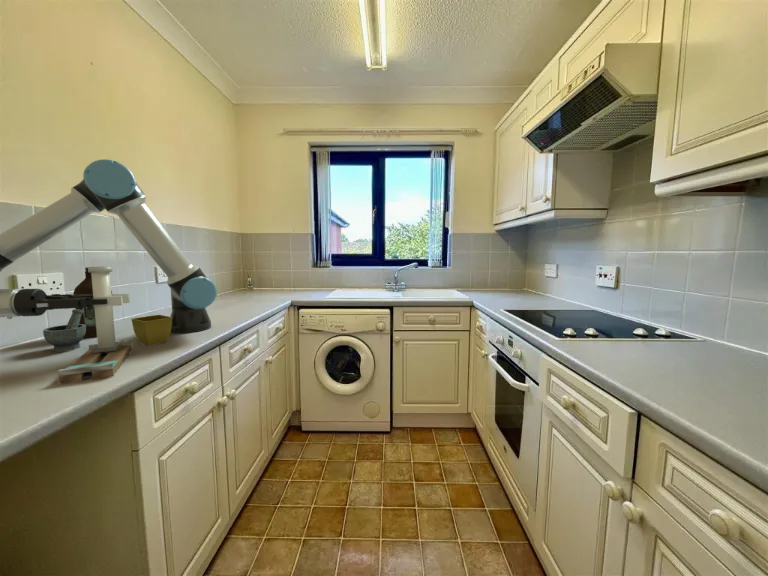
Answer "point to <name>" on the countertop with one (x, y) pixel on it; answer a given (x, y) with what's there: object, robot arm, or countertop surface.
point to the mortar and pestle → (66, 333)
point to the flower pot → (152, 329)
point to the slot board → (95, 364)
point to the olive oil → (88, 314)
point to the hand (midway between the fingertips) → (125, 299)
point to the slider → (103, 310)
